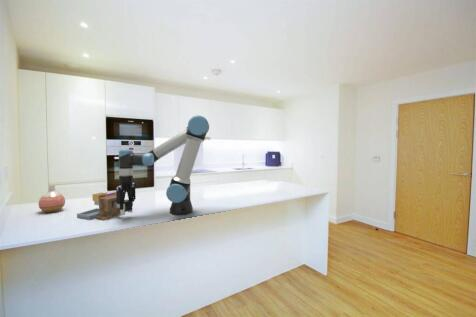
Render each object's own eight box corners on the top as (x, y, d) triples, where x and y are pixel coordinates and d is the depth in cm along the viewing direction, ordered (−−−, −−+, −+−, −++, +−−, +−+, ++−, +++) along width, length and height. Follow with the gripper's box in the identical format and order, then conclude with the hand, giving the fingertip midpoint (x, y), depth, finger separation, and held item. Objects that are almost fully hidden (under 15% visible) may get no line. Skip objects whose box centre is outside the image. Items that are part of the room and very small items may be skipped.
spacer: (107, 199, 145) (106, 193, 145) (98, 201, 140) (98, 195, 139) (101, 198, 147) (100, 192, 147) (92, 200, 141) (92, 194, 141)
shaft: (132, 209, 139) (132, 200, 139) (125, 211, 134) (125, 201, 134) (99, 205, 147) (99, 196, 147) (92, 207, 142) (92, 198, 142)
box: (106, 212, 150) (105, 194, 149) (98, 211, 151) (98, 193, 150) (117, 207, 160) (117, 191, 159) (110, 207, 161) (110, 190, 161)
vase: (55, 214, 143) (54, 186, 142) (32, 214, 142) (31, 186, 141) (70, 208, 157) (69, 183, 156) (49, 208, 156) (48, 183, 155)
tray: (109, 213, 146) (109, 210, 146) (90, 220, 134) (90, 215, 134) (96, 212, 149) (96, 208, 149) (77, 217, 137) (77, 213, 137)
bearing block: (123, 213, 147) (123, 195, 146) (104, 220, 133) (104, 200, 133) (115, 212, 149) (115, 194, 149) (95, 219, 136) (95, 199, 135)
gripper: (132, 173, 146) (132, 208, 147) (108, 176, 128) (109, 217, 130) (141, 173, 143) (142, 210, 145) (118, 177, 126) (119, 218, 128)
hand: (126, 213), depth 137 cm, fingers closed on shaft, 5 cm apart
